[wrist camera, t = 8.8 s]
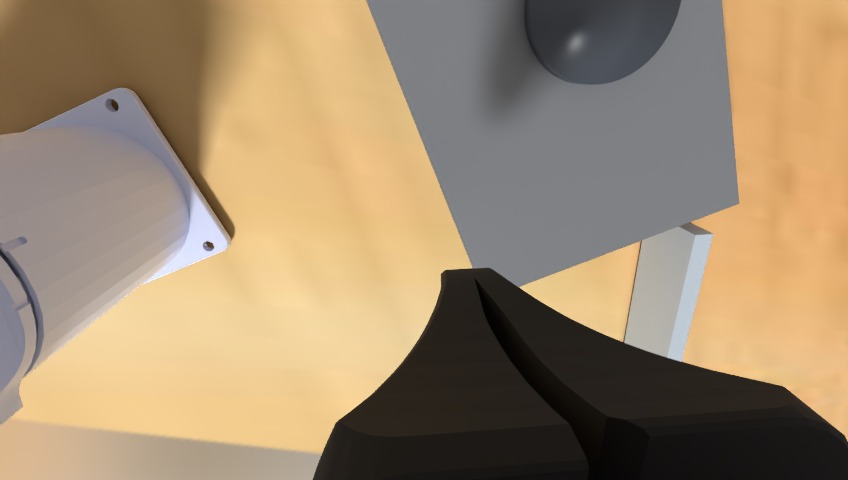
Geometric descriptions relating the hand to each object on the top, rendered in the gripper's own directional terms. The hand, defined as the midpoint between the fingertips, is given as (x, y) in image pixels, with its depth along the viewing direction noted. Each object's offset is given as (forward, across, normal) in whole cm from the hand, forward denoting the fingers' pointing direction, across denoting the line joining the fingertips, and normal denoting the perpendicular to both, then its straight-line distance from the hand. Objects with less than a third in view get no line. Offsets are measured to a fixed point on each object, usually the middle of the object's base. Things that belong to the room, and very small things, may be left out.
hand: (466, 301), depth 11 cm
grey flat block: (+9, -5, -5) cm, 12 cm away
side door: (+9, -12, +7) cm, 17 cm away
